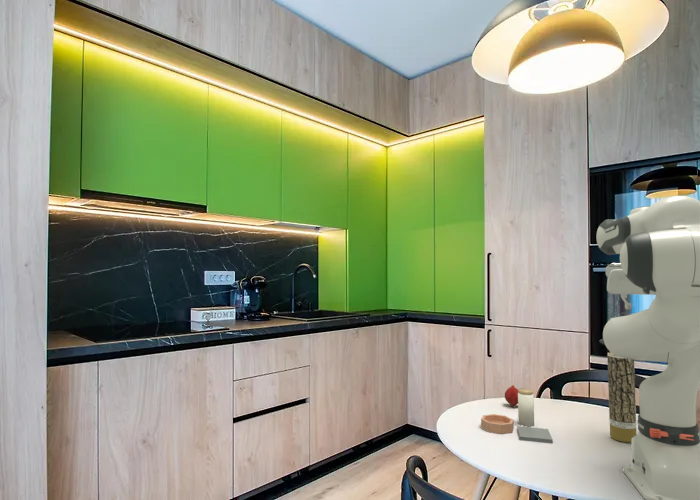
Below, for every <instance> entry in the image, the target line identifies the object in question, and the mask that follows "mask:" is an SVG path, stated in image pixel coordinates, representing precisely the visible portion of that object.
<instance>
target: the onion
mask: <svg viewBox="0 0 700 500" xmlns="http://www.w3.org/2000/svg"><path fill="white" fill-rule="evenodd" d="M504 392H505V393H504V399H505V401H506V402H507V403H508V404H509V405H510V406H511V407H513V406H515V407H516V406H517V405H518V392H519V389H518V388H516V386H515V384H512V385H511V386H510V387H508V388H507V389H506V391H504Z"/></svg>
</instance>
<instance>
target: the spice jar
mask: <svg viewBox="0 0 700 500" xmlns="http://www.w3.org/2000/svg"><path fill="white" fill-rule="evenodd" d="M518 390H519V392H518V404H517V405H518V406H517V409H518V411H517V413H518V416H517V417H518V425H519V424H520V426H521V425H523V426H522V427H525V426H527V427H531V426H533V427H534V426H535V399H534V398H535V397H534V395H535V394H534V391H533V389H531V388H524V387H522V388H519V389H518Z"/></svg>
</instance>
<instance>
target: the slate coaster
mask: <svg viewBox="0 0 700 500" xmlns="http://www.w3.org/2000/svg"><path fill="white" fill-rule="evenodd" d="M516 428H517V434H518V437H519V441H528V442H538V443H548V444H553V443H554V440H553V437H552V435H551V433H550V430H549V428H539V427H525V426H521V425H520V426H516Z"/></svg>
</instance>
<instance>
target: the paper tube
mask: <svg viewBox="0 0 700 500" xmlns="http://www.w3.org/2000/svg"><path fill="white" fill-rule="evenodd" d="M606 356H607V381H608V382H607V384H608V385H607V386H608V411H609V412H608V414H609V416H608V417H609V435H610V438H612V439H613V440H615V441H618V442H621V443H630V444H631V440H632V438H633V437H634V436H636V435H637V434H638V433H637V405H636V382H635V381H636V379H635V378H636V377H635V360H633V359H628V358H624V357H620V356H616V355H613V354H612V353H611V352H607V355H606Z"/></svg>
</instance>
